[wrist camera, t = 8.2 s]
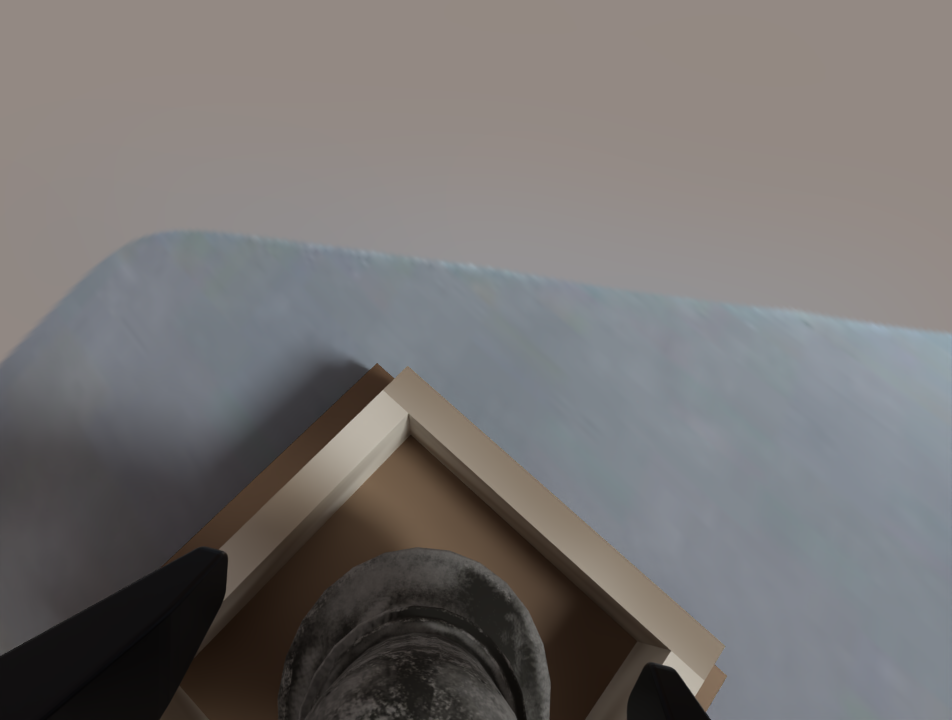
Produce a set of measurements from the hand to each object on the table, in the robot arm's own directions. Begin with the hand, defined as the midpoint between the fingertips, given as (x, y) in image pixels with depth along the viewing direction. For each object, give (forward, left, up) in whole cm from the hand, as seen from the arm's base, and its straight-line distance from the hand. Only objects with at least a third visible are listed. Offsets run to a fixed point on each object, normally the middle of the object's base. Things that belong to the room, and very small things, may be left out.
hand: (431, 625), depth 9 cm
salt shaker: (-1, -1, -8) cm, 8 cm away
